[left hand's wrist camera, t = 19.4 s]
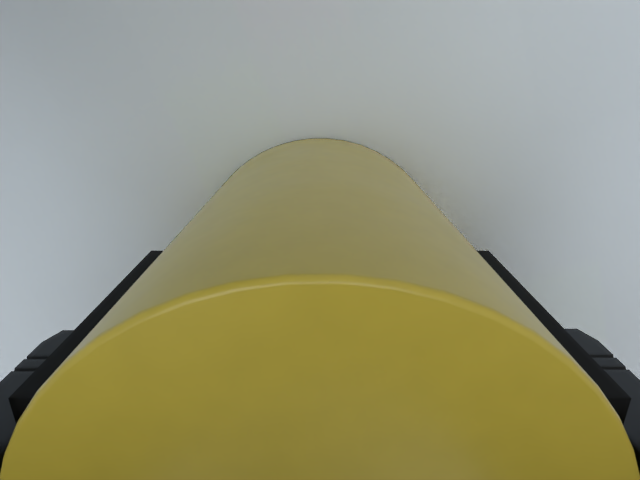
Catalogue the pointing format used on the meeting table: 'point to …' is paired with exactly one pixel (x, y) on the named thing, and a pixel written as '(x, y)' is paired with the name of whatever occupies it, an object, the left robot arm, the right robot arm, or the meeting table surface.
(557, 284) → the meeting table surface
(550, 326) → the left robot arm
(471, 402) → the canister
